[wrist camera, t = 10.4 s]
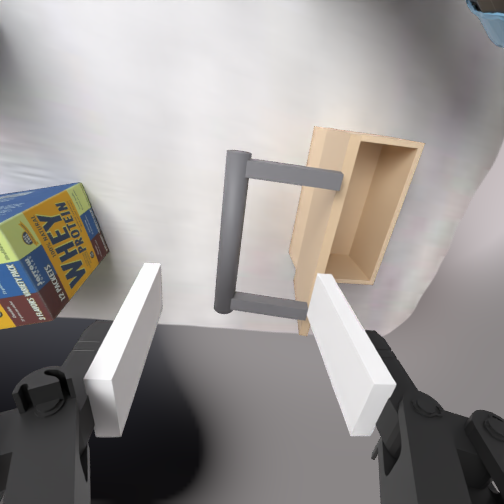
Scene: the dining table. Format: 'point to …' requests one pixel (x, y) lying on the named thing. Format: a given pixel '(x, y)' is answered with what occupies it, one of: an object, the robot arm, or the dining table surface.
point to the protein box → (45, 251)
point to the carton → (362, 204)
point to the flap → (316, 231)
